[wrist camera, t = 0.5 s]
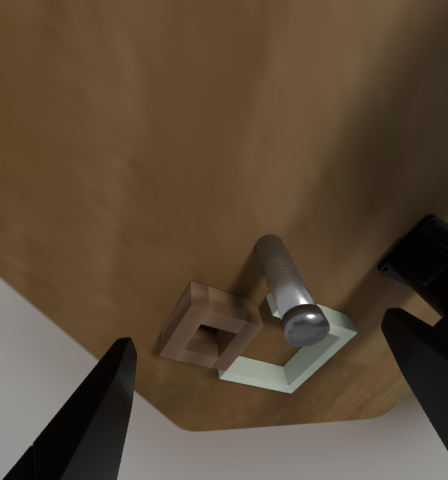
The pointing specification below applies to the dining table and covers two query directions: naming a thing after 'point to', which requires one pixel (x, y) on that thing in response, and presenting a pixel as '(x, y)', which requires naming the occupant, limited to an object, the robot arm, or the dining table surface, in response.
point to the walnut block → (215, 315)
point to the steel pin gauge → (291, 294)
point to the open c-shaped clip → (300, 363)
